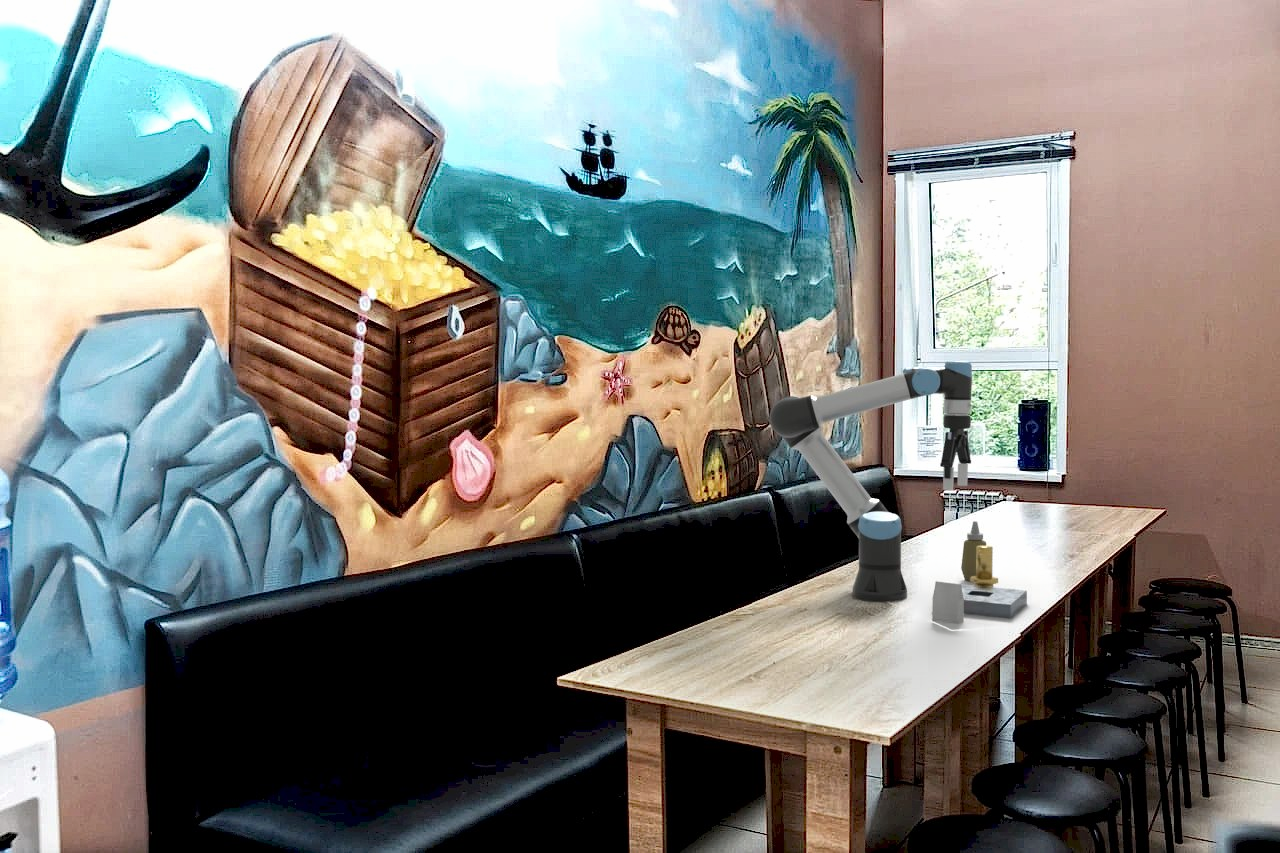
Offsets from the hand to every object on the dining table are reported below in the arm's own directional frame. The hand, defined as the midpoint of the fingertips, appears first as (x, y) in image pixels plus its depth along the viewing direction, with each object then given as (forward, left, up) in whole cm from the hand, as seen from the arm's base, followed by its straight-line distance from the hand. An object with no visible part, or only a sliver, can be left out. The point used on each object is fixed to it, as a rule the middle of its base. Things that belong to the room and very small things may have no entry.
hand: (955, 487), depth 315 cm
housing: (-6, -24, -30) cm, 39 cm away
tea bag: (-22, -35, -30) cm, 51 cm away
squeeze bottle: (+13, +10, -30) cm, 34 cm away
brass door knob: (+5, -8, -30) cm, 31 cm away
